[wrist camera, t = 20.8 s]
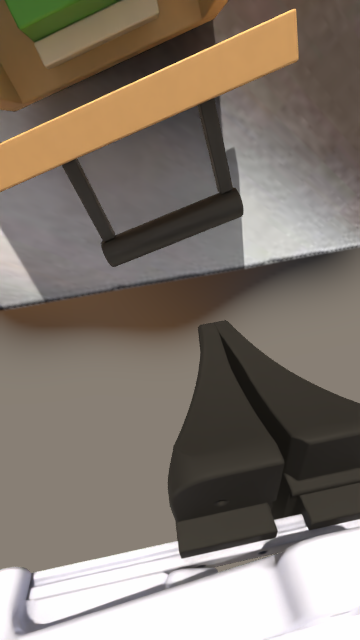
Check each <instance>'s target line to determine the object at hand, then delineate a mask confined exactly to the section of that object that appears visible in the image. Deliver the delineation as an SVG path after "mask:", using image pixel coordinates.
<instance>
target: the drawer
mask: <svg viewBox="0 0 360 640" xmlns="http://www.w3.org/2000/svg"><path fill="white" fill-rule="evenodd" d="M227 1H228V0H157V3H158V6H159V10H160V13H159V17H158V18H157V19H155V20H153V21H151V22H149V23H147V24H145V25H143V26H141V27H138V28H136V29H134V30H132V31H130V32H128V33H126V34H124V35H122V36H119V37H117V38H115V39H113V40H111V41H109V42H107V43H105V44H103V45H101V46H98V47H96V48H94V49H92V50H90V51H88V52H86V53H84V54H82V55H80V56H77V57H75V58H73V59H71V60H69V61H67V62H65V63H63V64H61V65H58V66H56V67H54V68H52V69H47V68H46V67H45V66H44V64H43V62H42V60H41V58H40V56H39V54H38V52H37V50H36V48H35V45H34V43H35V42H33V41H32V40H31V39H30V38H29V37H28V36H27V35H25V34H24V33H23V32H22V31H21V30H20V29H19V28H18V27H17V25H16V23H15V21H14V19H13V17H12V15H11V13H10V11H9V9H8V7H7V5H6V3H5V1H4V0H0V110H6V111H18V110H20V109H22V108H24V107H26V106H28V105H31V104H33V103H35V102H37V101H39V100H41V99H43V98H46V97H48V96H50V95H52V94H54V93H56V92H58V91H61V90H63V89H65V88H67V87H69V86H71V85H73V84H76V83H78V82H80V81H82V80H84V79H86V78H88V77H91V76H93V75H95V74H97V73H99V72H101V71H103V70H106V69H108V68H110V67H112V66H114V65H116V64H118V63H121V62H123V61H125V60H127V59H129V58H131V57H133V56H136V55H138V54H140V53H142V52H144V51H146V50H148V49H151V48H153V47H155V46H157V45H159V44H161V43H163V42H166V41H168V40H170V39H172V38H174V37H176V36H178V35H181V34H183V33H185V32H187V31H189V30H191V29H193V28H196V27H198V26H200V25H202V24H204V23H206V22H208V21H211V20H213V19H214V18H215V17H216V16H217V14H218V13H219V12H220V11H221V9H222V8H223V7H224V5H225V4H226V3H227ZM298 58H299V57H298V38H297V19H296V9H292V10H290V11H288V12H286V13H284V14H281V15H279V16H277V17H275V18H273V19H271V20H268V21H266V22H264V23H262V24H260V25H257V26H255V27H253V28H251V29H249V30H247V31H244V32H242V33H240V34H238V35H236V36H233V37H231V38H229V39H227V40H225V41H222V42H220V43H218V44H216V45H214V46H212V47H209V48H207V49H205V50H203V51H201V52H198V53H196V54H194V55H192V56H190V57H188V58H185V59H183V60H181V61H179V62H177V63H174V64H172V65H170V66H168V67H166V68H164V69H161V70H159V71H157V72H155V73H153V74H150V75H148V76H146V77H144V78H142V79H139V80H137V81H135V82H133V83H131V84H129V85H126V86H124V87H122V88H120V89H118V90H115V91H113V92H111V93H109V94H107V95H105V96H102V97H100V98H98V99H96V100H94V101H91V102H89V103H87V104H85V105H83V106H81V107H78V108H76V109H74V110H72V111H70V112H67V113H65V114H63V115H61V116H59V117H57V118H54V119H52V120H50V121H48V122H46V123H43V124H41V125H39V126H37V127H35V128H32V129H30V130H28V131H26V132H24V133H22V134H19V135H17V136H15V137H13V138H11V139H8V140H6V141H4V142H2V143H0V192H2V191H4V190H6V189H9V188H11V187H13V186H15V185H18V184H20V183H22V182H24V181H27V180H29V179H31V178H34V177H36V176H38V175H40V174H43V173H45V172H47V171H49V170H52V169H54V168H56V167H58V166H61V165H62V166H63V168H64V170H65V172H66V174H67V175H68V177H69V179H70V181H71V183H72V185H73V186H74V188H75V190H76V192H77V194H78V196H79V198H80V199H81V201H82V203H83V205H84V207H85V209H86V210H87V212H88V214H89V216H90V218H91V220H92V221H93V223H94V225H95V227H96V229H97V231H98V232H99V234H100V236H101V238H102V240H103V241H102V242H101V247H102V250H103V253H104V255H105V257H106V259H107V261H108V263H109V264H110V265H111V266H112V267H116V266H118V265H121V264H123V263H126V262H128V261H131V260H134V259H136V258H139V257H141V256H144V255H146V254H149V253H151V252H154V251H156V250H159V249H161V248H164V247H166V246H169V245H171V244H174V243H176V242H179V241H181V240H184V239H186V238H189V237H191V236H194V235H196V234H199V233H201V232H204V231H206V230H209V229H211V228H214V227H216V226H219V225H221V224H224V223H226V222H229V221H231V220H234V219H236V218H239V217H241V216H242V215H243V204H242V200H241V197H240V194H239V192H238V190H237V189H236V188H235V187H232V182H231V177H230V172H229V167H228V163H227V158H226V153H225V148H224V143H223V138H222V134H221V129H220V124H219V119H218V114H217V109H216V104H215V100H214V98H215V97H217V96H220V95H222V94H224V93H226V92H229V91H231V90H233V89H235V88H238V87H240V86H242V85H245V84H247V83H249V82H251V81H254V80H256V79H258V78H260V77H263V76H265V75H267V74H269V73H272V72H274V71H276V70H279V69H281V68H283V67H285V66H288V65H290V64H292V63H294V62H297V61H298ZM195 106H198V110H199V115H200V119H201V123H202V127H203V131H204V135H205V140H206V144H207V148H208V152H209V156H210V160H211V165H212V169H213V173H214V177H215V181H216V185H217V190H218V192H219V193H218V194H215V195H213V196H210V197H208V198H205V199H203V200H201V201H198V202H196V203H193V204H191V205H188V206H186V207H183V208H181V209H179V210H176V211H174V212H171V213H169V214H166V215H164V216H161V217H159V218H157V219H154V220H152V221H149V222H147V223H144V224H142V225H139V226H137V227H135V228H132V229H130V230H127V231H125V232H122V233H120V234H117V235H115V232H114V230H113V228H112V226H111V224H110V222H109V221H108V219H107V217H106V215H105V213H104V211H103V209H102V207H101V205H100V203H99V201H98V199H97V197H96V195H95V193H94V191H93V189H92V187H91V185H90V183H89V181H88V179H87V177H86V175H85V173H84V171H83V169H82V167H81V165H80V163H79V161H78V159H77V158H79V157H81V156H83V155H86V154H88V153H90V152H93V151H95V150H97V149H99V148H102V147H104V146H106V145H108V144H111V143H113V142H115V141H117V140H120V139H122V138H124V137H127V136H129V135H131V134H133V133H136V132H138V131H140V130H142V129H145V128H147V127H149V126H151V125H154V124H156V123H158V122H161V121H163V120H165V119H167V118H170V117H172V116H174V115H176V114H179V113H181V112H183V111H186V110H188V109H190V108H192V107H195Z"/></svg>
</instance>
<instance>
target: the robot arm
mask: <svg viewBox="0 0 360 640" xmlns="http://www.w3.org/2000/svg"><path fill="white" fill-rule="evenodd" d="M198 332H199V341H200V351H201V354H200V364H199V372H198V377H197V382H196V387H195V390H194V394H193V398H192V401H191V404H190V408H189V410H188V413H187V416H186V419H185V421H184V424H183V427H182V429H181V431H180V434H179V436H178V438H177V440H176V442H175V445H174V447H173V453H172V458H171V463H170V468H169V475H168V494H169V503H170V507H171V510H172V513H173V515H174V518H175V520H176V530H177V539H178V541H176V542H171V543H166V544H163V545H158V546H153V547H148V548H144V549H139V550H135V551H130V552H126V553H121V554H116V555H112V556H107V557H103V558H98V559H94V560H89V561H84V562H80V563H75V564H71V565H66V566H62V567H57V568H53V569H48V570H43V571H39V572H35V573H31V572H30V571H29V570H28V569H26V568H24V567H9V568H4V569H0V640H360V403H357V402H354V401H352V400H349V399H346V398H344V397H341V396H339V395H336V394H334V393H332V392H330V391H327V390H325V389H323V388H321V387H319V386H317V385H314V384H312V383H311V382H309V381H307V380H305V379H303V378H301V377H299V376H297V375H295V374H294V373H292V372H290V371H289V370H287V369H285V368H284V367H282V366H281V365H279V364H278V363H276V362H275V361H273V360H272V359H271V358H269V357H268V356H266V355H265V354H264V353H263V352H261V351H260V350H259V349H257V348H256V347H255V346H254V345H253V344H252V343H250V342H249V341H248V340H247V339H246V338H245V337H243V336H242V335H241V334H240V333H239V332H238V331H237V330H236V329H235V328H234V327H233V326H232V325H231V324H230V323H229V322H228V321H226V320H225V321H219V322H214V323H209V324H203V325H200V326H199V327H198ZM280 552H281V553H280ZM275 553H278V554H275ZM271 554H275V555H271ZM267 555H271V556H268V557H265V558H262V559H259V560H256V561H253V562H249V563H246V564H243V565H240V566H237V567H234V568H231V569H228V570H225V571H221V572H218V571H217V569H216V568H214V567H218V566H222V565H226V564H231V563H235V562H239V561H244V560H248V559H253V558H258V557H262V556H267Z"/></svg>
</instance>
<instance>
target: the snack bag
mask: <svg viewBox="0 0 360 640" xmlns="http://www.w3.org/2000/svg"><path fill="white" fill-rule="evenodd" d="M4 1H5V3H6V5H7V7H8V9H9V11H10V13H11V15H12V17H13V19H14V21H15V23H16V25H17V27H18V28H19V29H20V30H21V31H22V32H23V33H24V34H25V35H27V36H28V37H29V38H30V39H31V40H32V41H33V42H35V43H34V45H35V48H36V50H37V52H38V54H39V56H40V58H41V60H42V62H43V64H44V66H45V67H46V68H47V69H52V68H54V67H56V66H58V65H61V64H63V63H65V62H67V61H69V60H71V59H73V58H75V57H77V56H80V55H82V54H84V53H86V52H88V51H90V50H92V49H94V48H96V47H98V46H101V45H103V44H105V43H107V42H109V41H111V40H113V39H115V38H117V37H119V36H122V35H124V34H126V33H128V32H130V31H132V30H134V29H136V28H138V27H141V26H143V25H145V24H147V23H149V22H151V21H153V20H155V19H157V18H158V17H159V13H160V10H159V6H158V3H157V0H4Z"/></svg>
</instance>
